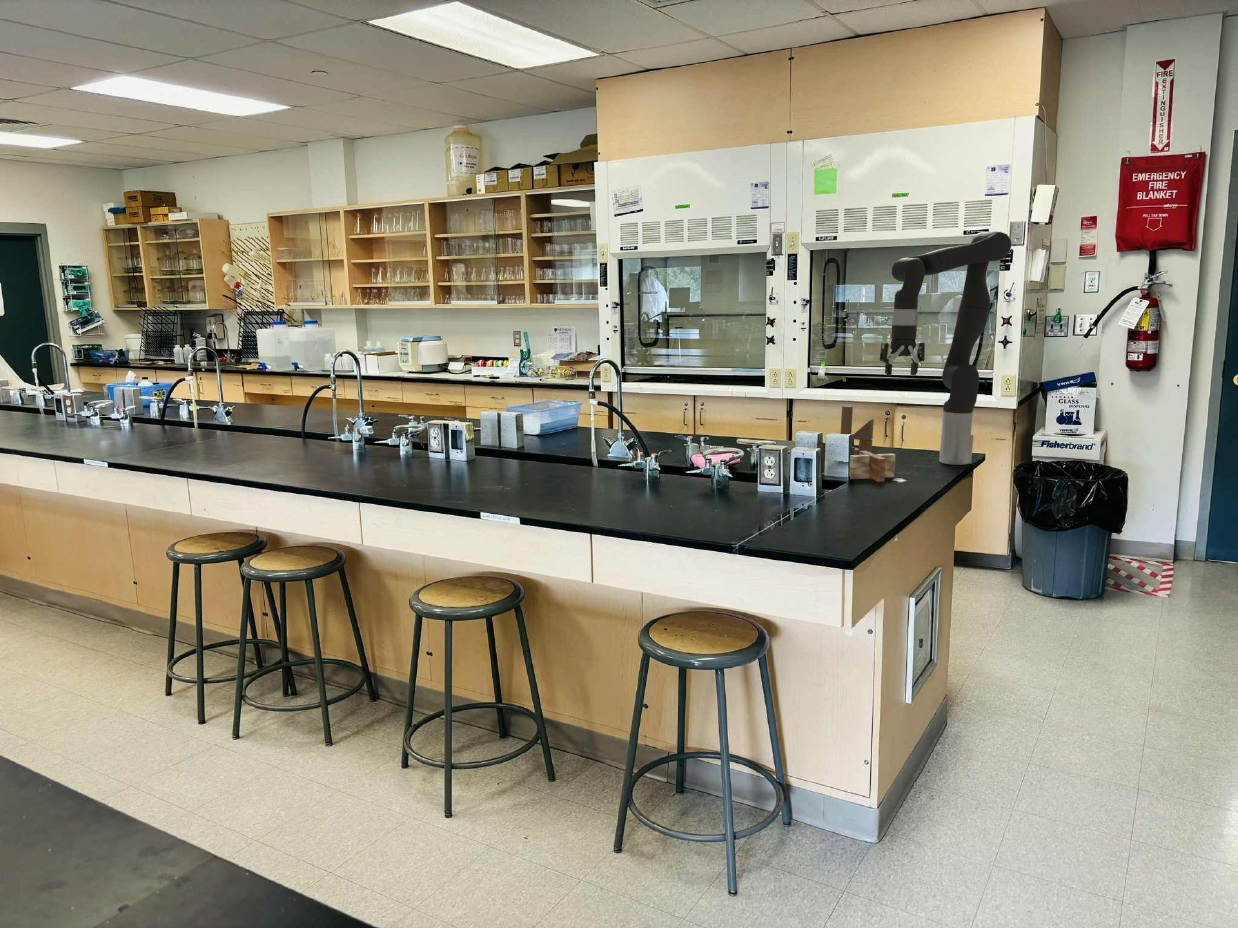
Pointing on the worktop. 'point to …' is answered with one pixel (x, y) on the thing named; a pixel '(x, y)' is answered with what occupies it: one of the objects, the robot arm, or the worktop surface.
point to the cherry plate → (876, 466)
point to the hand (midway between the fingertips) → (900, 375)
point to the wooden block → (862, 434)
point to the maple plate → (863, 470)
